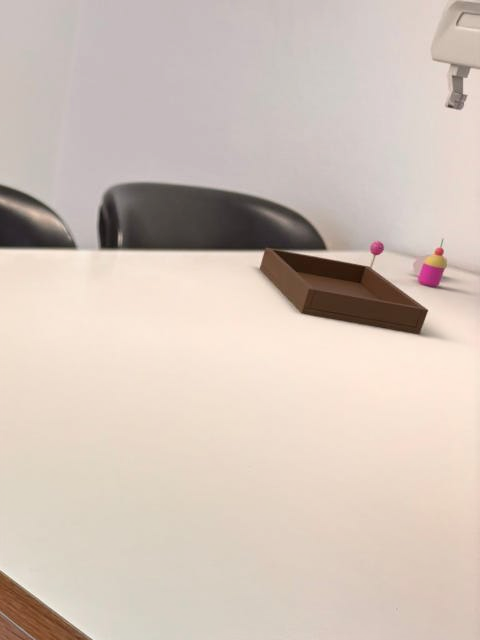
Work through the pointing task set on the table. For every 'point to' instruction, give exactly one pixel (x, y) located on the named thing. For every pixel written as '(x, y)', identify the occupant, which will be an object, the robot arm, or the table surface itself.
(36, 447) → the table surface
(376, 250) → the candy
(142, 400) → the table surface
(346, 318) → the tray
